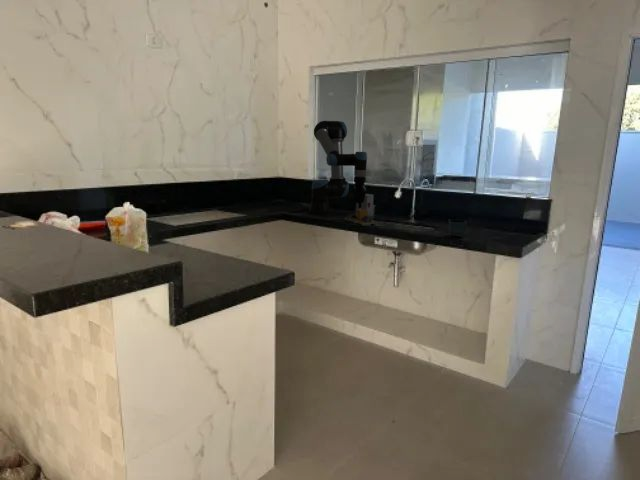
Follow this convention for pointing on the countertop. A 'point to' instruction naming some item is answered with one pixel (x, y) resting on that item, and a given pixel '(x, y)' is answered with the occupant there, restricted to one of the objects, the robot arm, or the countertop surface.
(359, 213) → the sleeve
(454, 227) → the flower pot
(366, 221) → the cord board
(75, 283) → the countertop surface
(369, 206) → the supplement box
